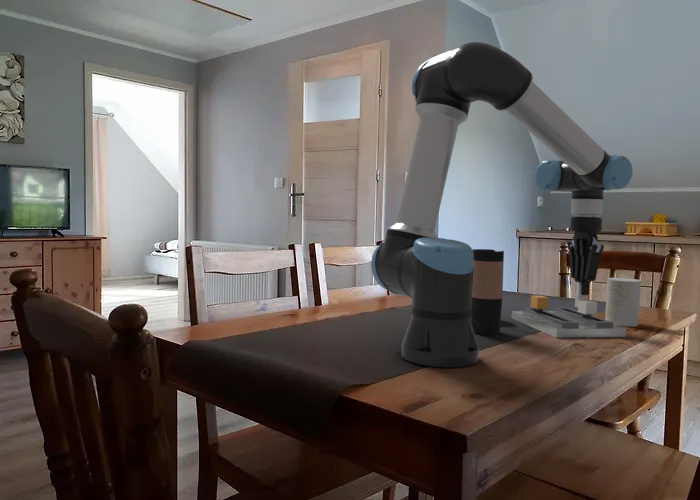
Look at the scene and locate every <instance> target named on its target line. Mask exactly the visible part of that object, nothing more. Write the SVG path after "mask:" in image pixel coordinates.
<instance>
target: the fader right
mask: <svg viewBox="0 0 700 500" xmlns="http://www.w3.org/2000/svg"><path fill="white" fill-rule="evenodd" d="M577 311H578V312H580V313H583V317H586V318H589V319H591V315H598V314H597V312H598V302H597V301H593V300H589V299H588V300H578V307H577Z"/></svg>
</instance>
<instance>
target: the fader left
mask: <svg viewBox="0 0 700 500" xmlns="http://www.w3.org/2000/svg"><path fill="white" fill-rule="evenodd" d="M548 305H549V297H547V296H544V295H530V307H529V308H535V311H537V312H539V313H542V312H543V310H548Z"/></svg>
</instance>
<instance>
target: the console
mask: <svg viewBox="0 0 700 500" xmlns="http://www.w3.org/2000/svg"><path fill="white" fill-rule="evenodd" d="M511 319H513V320H514V321H517V322H519V323H522V324H524V325H526V326H528V327H531V328H533V329H536V330H538V331H540V332H543V333H545V334H547V335H549V336H552V337H554V338H557V339H558V338H559V339H560V338H562V339H563V338H564V339H565V338H567V339H568V338H569V339H570V338H571V339H572V338H627V328H626V327H624V326H617V325H613V322H611V321H607V320H605V318H602V317H601V318H600V317H598V316H594V315H593V314H591V319H589V318H586V317H583V313H580V312H578V310H576V309H572V308H569V307H553V309H552V310H546V309H543V312H542V313H539V312H537V311H535V308H533V307H522V310H512V311H511Z"/></svg>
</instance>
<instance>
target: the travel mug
mask: <svg viewBox="0 0 700 500" xmlns="http://www.w3.org/2000/svg"><path fill="white" fill-rule="evenodd" d="M472 250H473V261H474V270H473V289H472V307H471V323H472V327H473V330H474V334H475V335H480V336H483V335H484V336H497V335H499V334H500V332H501V322H502V321H501V320H502V308H503V307H502V305H503V292H504V291H503V289H504V287H503V286H504V263H505V262H504V260H505V259H504V256H505V255H504V254H505V252H504V250H499V251H497V250H495V249H488V248H487V249H486V248H476V249H475V248H472Z"/></svg>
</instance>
